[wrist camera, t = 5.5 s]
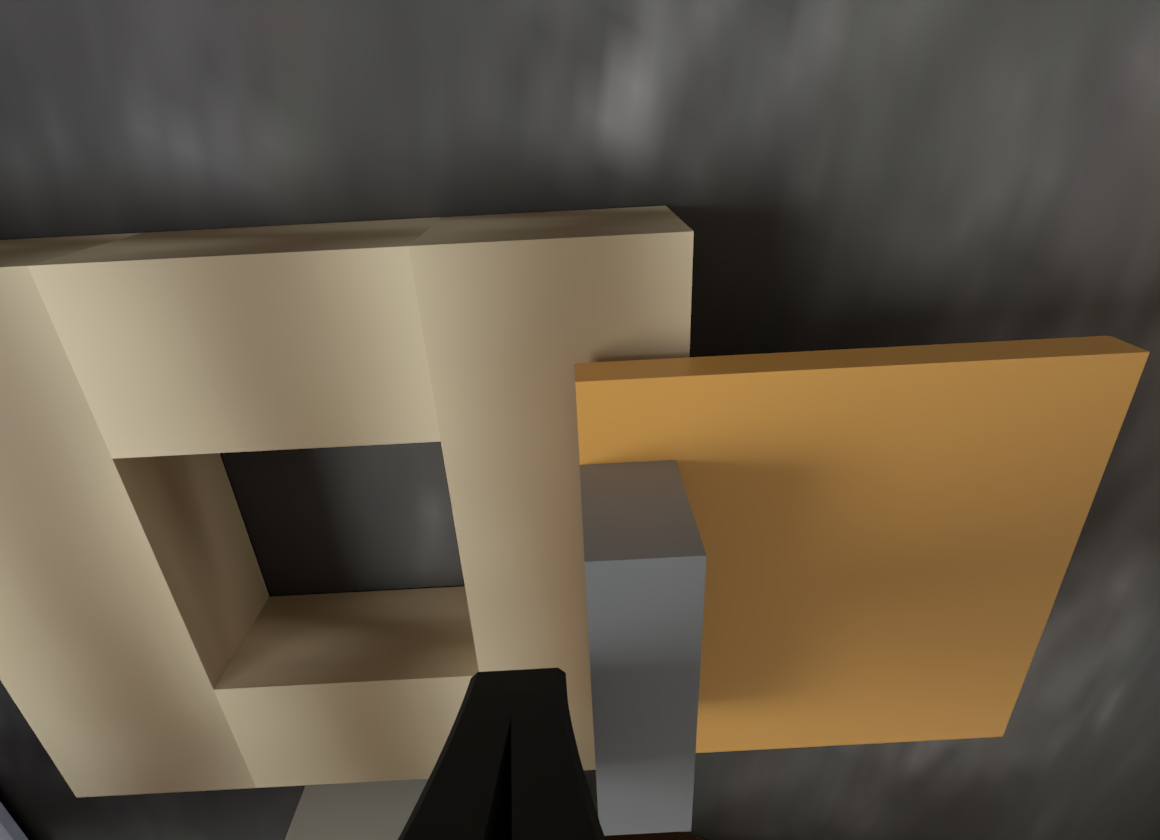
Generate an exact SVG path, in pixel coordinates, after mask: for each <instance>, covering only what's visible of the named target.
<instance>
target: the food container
mask: <svg viewBox="0 0 1160 840" xmlns="http://www.w3.org/2000/svg"><path fill="white" fill-rule="evenodd" d="M605 839H606V840H705V839H702V838H699V837H697V836H694V835H690V834H686V833H682V832H664V833H645V834H627V835H608V836H605Z"/></svg>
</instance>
